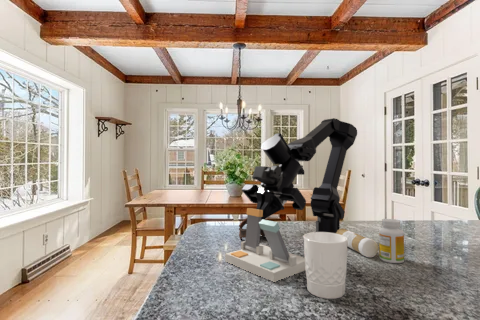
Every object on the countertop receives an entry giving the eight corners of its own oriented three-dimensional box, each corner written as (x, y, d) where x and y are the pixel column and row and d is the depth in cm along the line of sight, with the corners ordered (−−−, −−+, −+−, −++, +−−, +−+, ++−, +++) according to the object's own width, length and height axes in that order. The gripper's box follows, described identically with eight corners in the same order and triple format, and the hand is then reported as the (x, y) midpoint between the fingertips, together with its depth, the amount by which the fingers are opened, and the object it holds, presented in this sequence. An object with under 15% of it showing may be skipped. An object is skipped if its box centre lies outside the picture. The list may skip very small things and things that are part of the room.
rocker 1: (247, 248, 72) (250, 208, 73) (259, 252, 68) (263, 210, 69) (243, 248, 71) (246, 208, 72) (255, 252, 67) (258, 210, 68)
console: (260, 251, 76) (260, 237, 76) (311, 268, 63) (310, 251, 63) (224, 261, 68) (224, 245, 68) (274, 283, 56) (274, 264, 56)
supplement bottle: (401, 257, 70) (401, 218, 70) (406, 265, 65) (405, 223, 65) (378, 255, 72) (377, 217, 72) (380, 262, 67) (380, 221, 67)
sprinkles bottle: (351, 234, 84) (382, 247, 71) (342, 246, 83) (371, 261, 70) (341, 224, 83) (370, 235, 70) (331, 236, 83) (359, 250, 70)
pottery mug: (276, 244, 85) (265, 222, 82) (248, 258, 85) (236, 236, 82) (267, 225, 96) (257, 205, 94) (242, 237, 96) (232, 218, 94)
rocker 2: (277, 255, 64) (262, 219, 61) (292, 260, 61) (277, 222, 58) (274, 259, 63) (258, 223, 60) (289, 265, 60) (273, 226, 57)
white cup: (314, 278, 58) (314, 230, 58) (354, 289, 53) (353, 235, 53) (296, 292, 52) (295, 237, 52) (339, 305, 47) (338, 245, 47)
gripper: (246, 156, 81) (215, 198, 74) (297, 154, 67) (266, 205, 60) (265, 181, 86) (238, 223, 79) (317, 185, 72) (290, 235, 65)
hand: (256, 221), depth 71 cm, fingers closed, pressing on rocker 1
